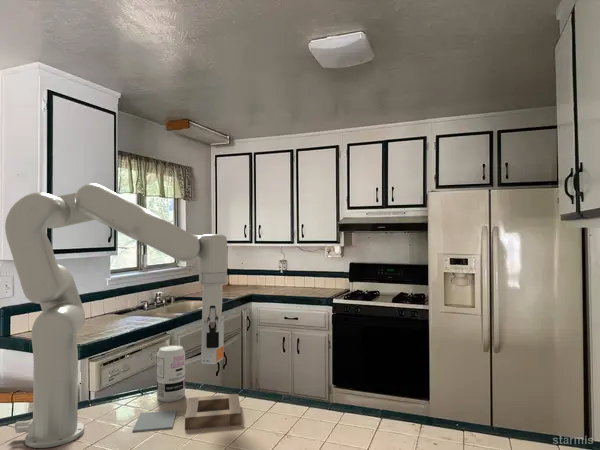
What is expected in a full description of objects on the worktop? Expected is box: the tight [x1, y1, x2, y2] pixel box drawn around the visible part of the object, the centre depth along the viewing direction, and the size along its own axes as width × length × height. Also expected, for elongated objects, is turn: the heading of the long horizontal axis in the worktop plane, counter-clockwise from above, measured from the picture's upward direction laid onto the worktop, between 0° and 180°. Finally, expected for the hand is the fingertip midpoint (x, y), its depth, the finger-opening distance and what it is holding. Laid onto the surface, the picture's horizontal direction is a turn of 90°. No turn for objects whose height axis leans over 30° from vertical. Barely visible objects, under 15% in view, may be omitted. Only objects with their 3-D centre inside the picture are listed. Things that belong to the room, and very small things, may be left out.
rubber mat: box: [132, 409, 178, 433], centre depth 111 cm, size 10×11×1 cm
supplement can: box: [156, 344, 186, 403], centre depth 129 cm, size 8×8×15 cm
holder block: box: [184, 393, 242, 431], centre depth 114 cm, size 14×14×3 cm
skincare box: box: [200, 315, 225, 366], centre depth 115 cm, size 6×4×12 cm
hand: (212, 343), depth 115 cm, fingers closed on skincare box, 7 cm apart
